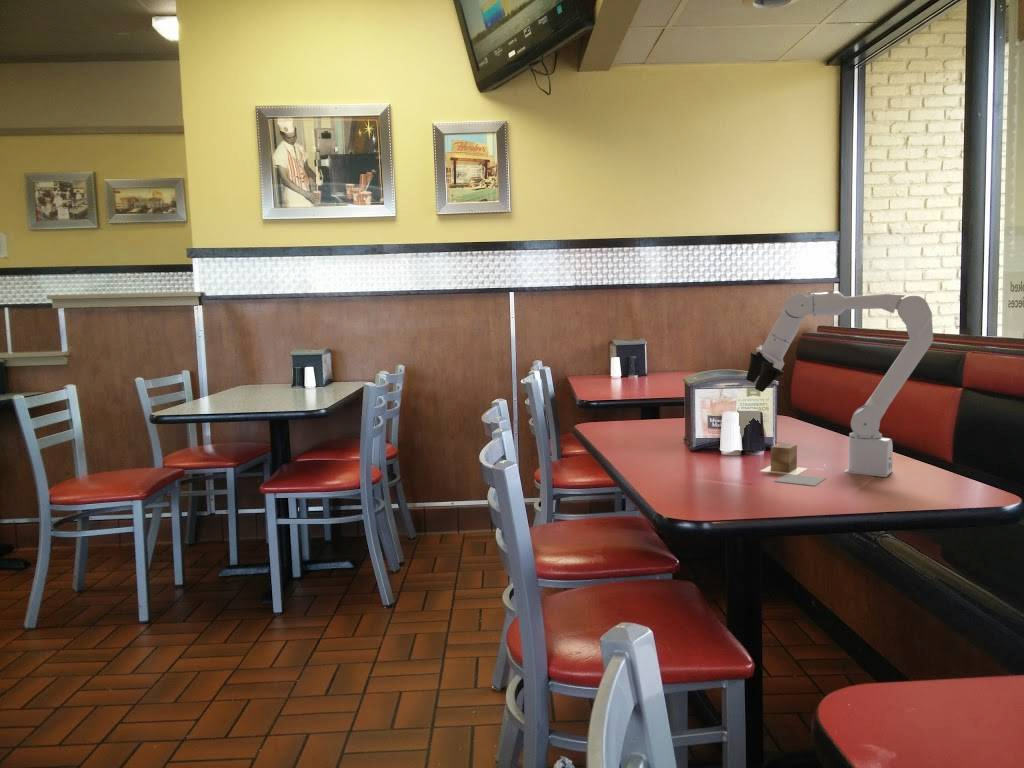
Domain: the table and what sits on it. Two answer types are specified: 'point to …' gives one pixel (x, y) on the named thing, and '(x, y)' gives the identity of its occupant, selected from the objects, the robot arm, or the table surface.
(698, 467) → the table surface
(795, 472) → the tile
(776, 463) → the walnut block
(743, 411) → the grey upright block
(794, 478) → the grey mat
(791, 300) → the robot arm
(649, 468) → the table surface
